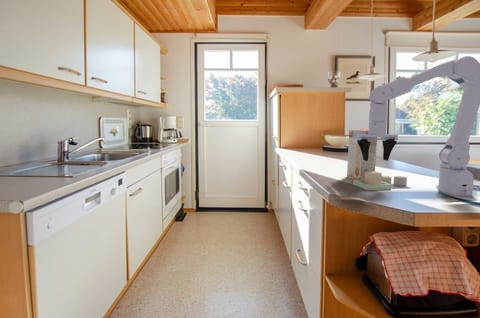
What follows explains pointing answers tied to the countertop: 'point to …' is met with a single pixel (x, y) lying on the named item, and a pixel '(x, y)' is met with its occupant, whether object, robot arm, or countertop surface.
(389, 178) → the grey pebble
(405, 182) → the grey pebble
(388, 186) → the sage tray
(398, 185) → the slate board
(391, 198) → the countertop surface
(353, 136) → the cracker box
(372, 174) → the sandstone block
